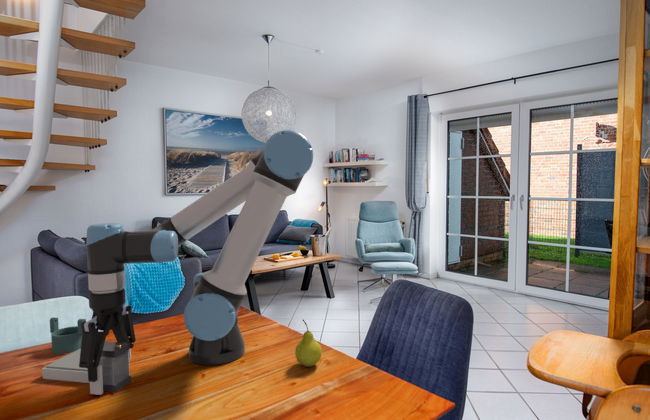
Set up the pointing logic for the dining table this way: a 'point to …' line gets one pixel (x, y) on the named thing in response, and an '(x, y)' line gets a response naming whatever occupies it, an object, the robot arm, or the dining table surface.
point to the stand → (67, 369)
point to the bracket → (65, 337)
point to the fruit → (308, 350)
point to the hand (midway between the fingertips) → (110, 383)
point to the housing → (115, 366)
